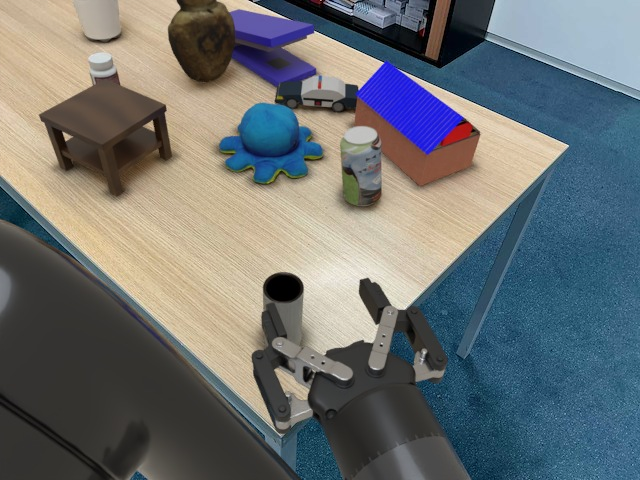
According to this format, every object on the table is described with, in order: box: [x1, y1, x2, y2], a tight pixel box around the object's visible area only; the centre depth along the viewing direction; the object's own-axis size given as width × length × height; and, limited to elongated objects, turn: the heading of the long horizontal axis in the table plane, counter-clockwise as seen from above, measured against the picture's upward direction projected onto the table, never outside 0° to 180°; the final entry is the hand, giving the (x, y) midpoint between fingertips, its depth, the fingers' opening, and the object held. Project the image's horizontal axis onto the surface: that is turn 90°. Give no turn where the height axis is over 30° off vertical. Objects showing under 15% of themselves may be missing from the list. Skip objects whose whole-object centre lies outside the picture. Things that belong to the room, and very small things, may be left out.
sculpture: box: [167, 0, 235, 83], centre depth 102 cm, size 13×8×20 cm, turn 123°
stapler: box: [229, 8, 318, 88], centre depth 114 cm, size 12×28×10 cm, turn 43°
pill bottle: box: [87, 51, 121, 86], centre depth 99 cm, size 5×5×8 cm
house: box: [353, 60, 482, 187], centre depth 93 cm, size 12×20×12 cm, turn 32°
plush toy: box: [218, 102, 324, 184], centre depth 91 cm, size 17×17×8 cm
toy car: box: [274, 74, 360, 113], centre depth 104 cm, size 5×16×5 cm, turn 88°
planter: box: [262, 271, 305, 348], centre depth 63 cm, size 4×4×10 cm
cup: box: [71, 0, 122, 43], centre depth 115 cm, size 10×10×13 cm
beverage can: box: [339, 126, 383, 207], centre depth 83 cm, size 6×7×12 cm
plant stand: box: [38, 79, 173, 197], centre depth 86 cm, size 13×13×10 cm
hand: (317, 296), depth 47 cm, fingers open, 8 cm apart
